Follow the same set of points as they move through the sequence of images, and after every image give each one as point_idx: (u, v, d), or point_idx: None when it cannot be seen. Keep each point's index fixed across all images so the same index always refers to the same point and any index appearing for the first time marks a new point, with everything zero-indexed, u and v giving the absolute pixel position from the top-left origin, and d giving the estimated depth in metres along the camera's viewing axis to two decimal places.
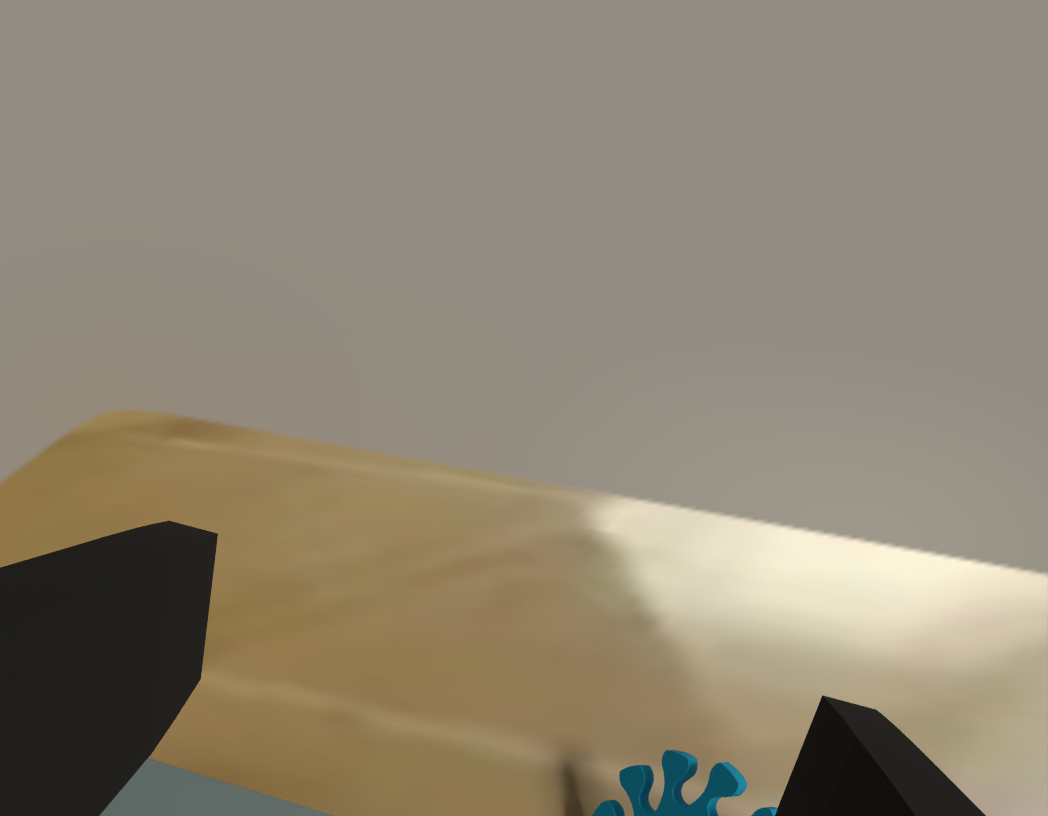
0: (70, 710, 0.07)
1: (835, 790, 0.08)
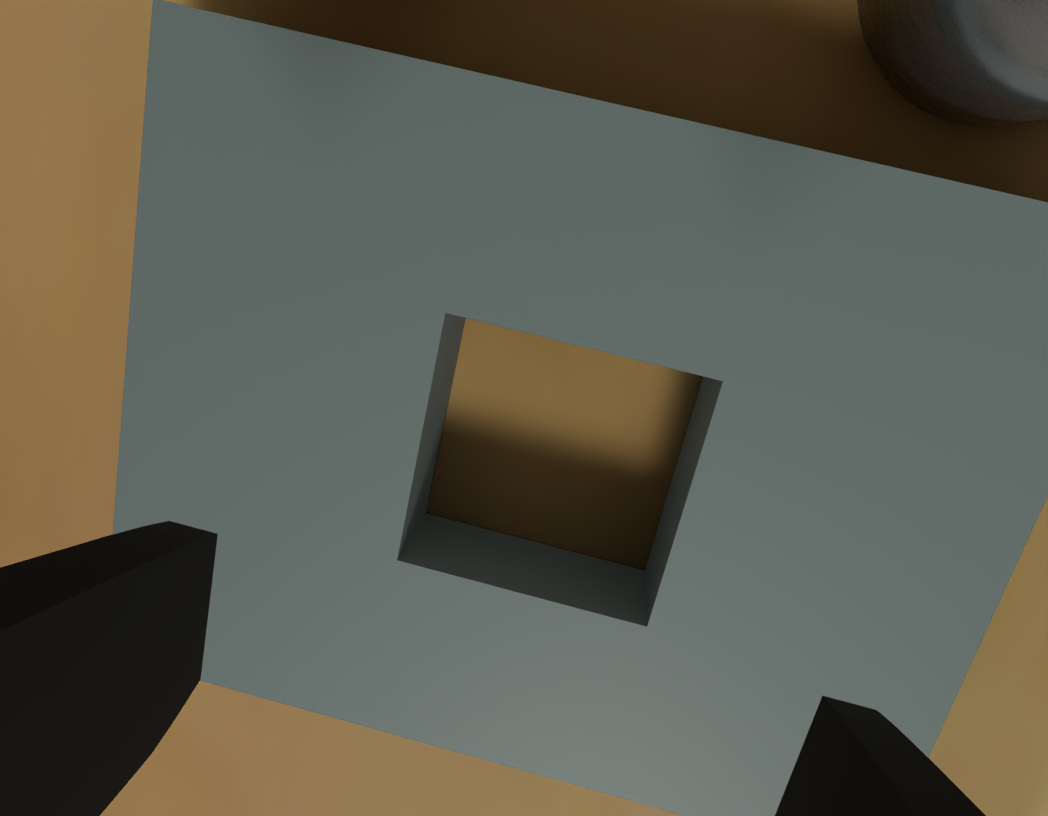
0: (69, 710, 0.07)
1: (835, 790, 0.08)
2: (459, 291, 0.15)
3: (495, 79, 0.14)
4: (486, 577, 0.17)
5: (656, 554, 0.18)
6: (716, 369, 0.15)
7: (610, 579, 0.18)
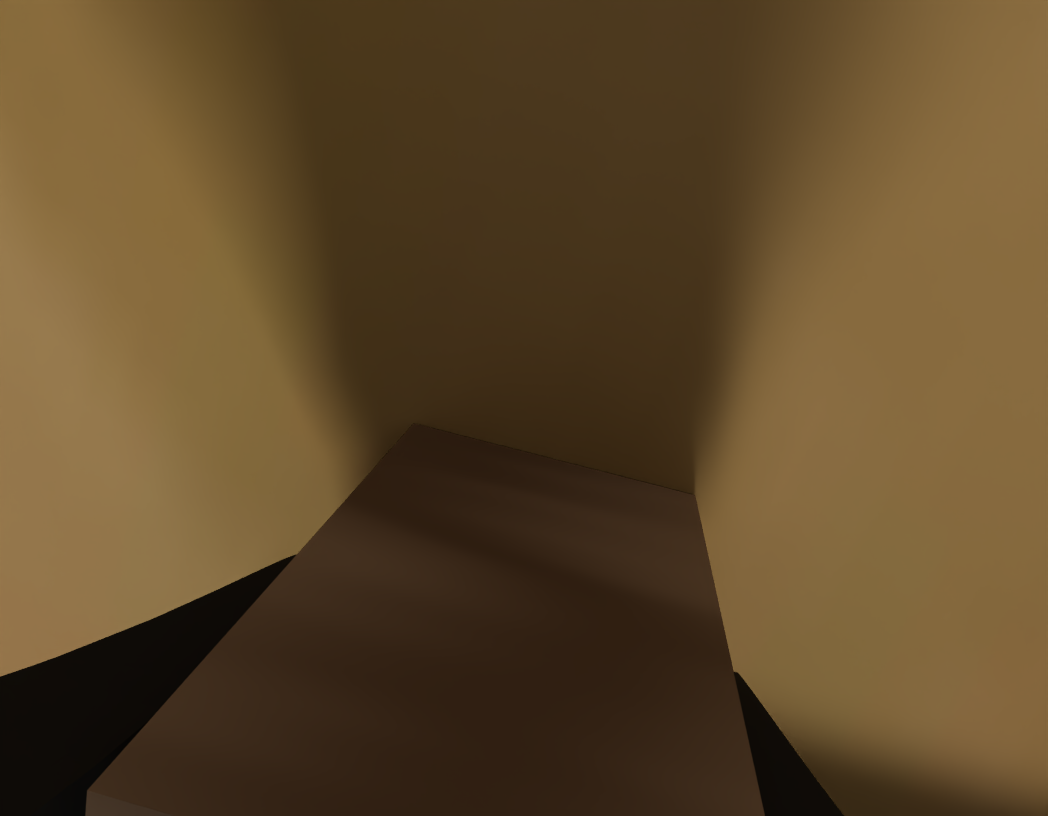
0: None
1: None
2: None
3: None
4: None
5: None
6: None
7: None
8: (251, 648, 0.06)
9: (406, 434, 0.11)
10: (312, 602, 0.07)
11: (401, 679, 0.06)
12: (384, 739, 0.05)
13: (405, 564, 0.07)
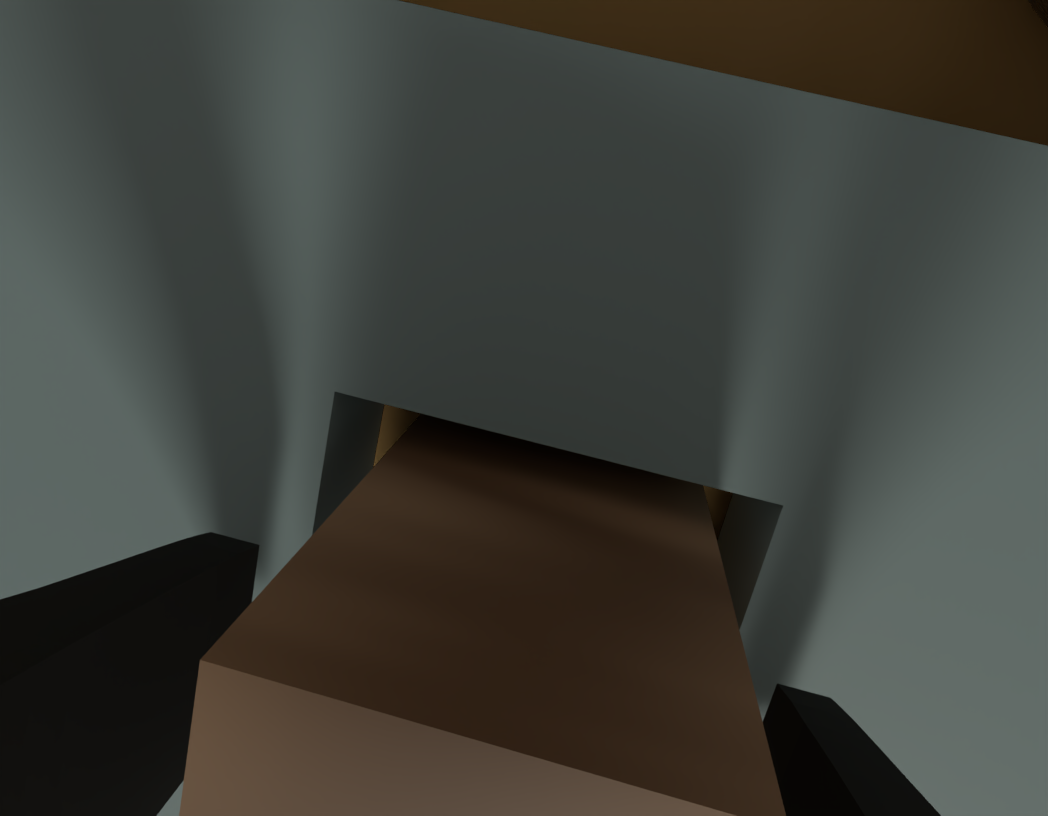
0: (122, 725, 0.07)
1: (784, 776, 0.08)
2: (355, 358, 0.09)
3: (403, 6, 0.08)
4: None
5: None
6: (772, 486, 0.09)
7: None
8: (318, 565, 0.07)
9: None
10: (365, 533, 0.07)
11: (447, 594, 0.07)
12: (435, 635, 0.06)
13: (441, 508, 0.08)
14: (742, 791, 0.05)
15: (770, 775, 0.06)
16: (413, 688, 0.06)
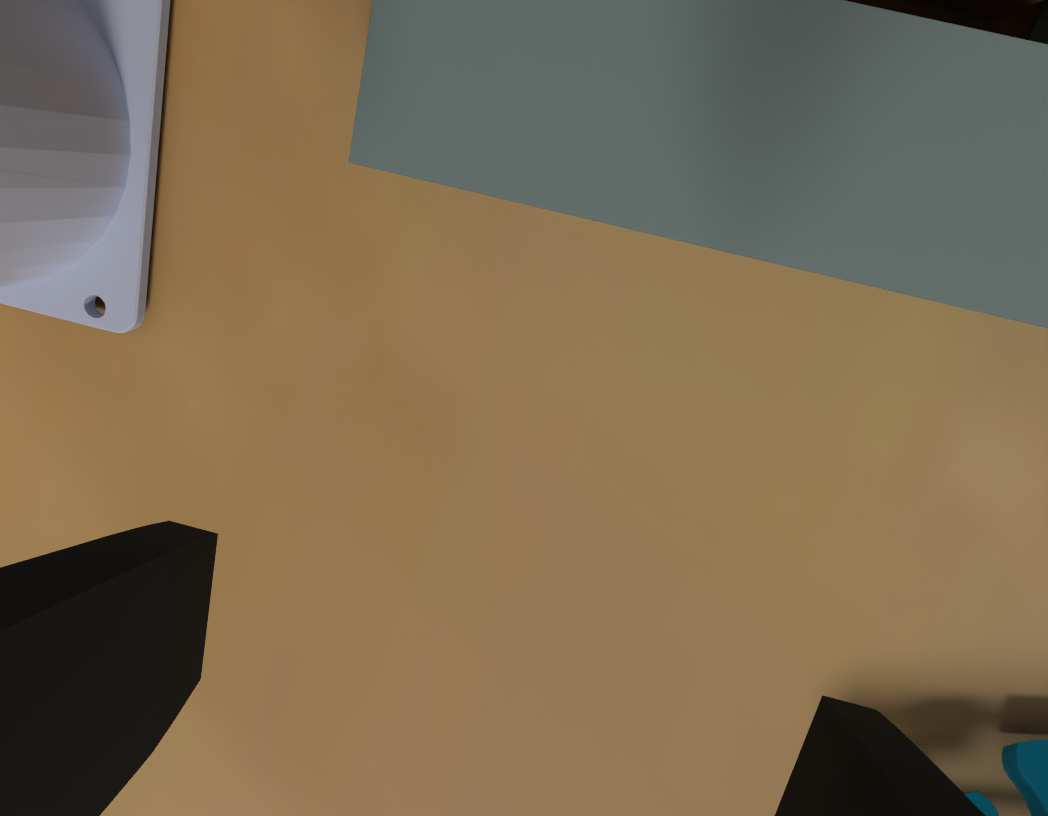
0: (70, 710, 0.07)
1: (835, 790, 0.08)
2: None
3: None
4: (867, 9, 0.13)
5: None
6: None
7: None
8: None
9: None
10: None
11: None
12: None
13: None
14: None
15: None
16: None
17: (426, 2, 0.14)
